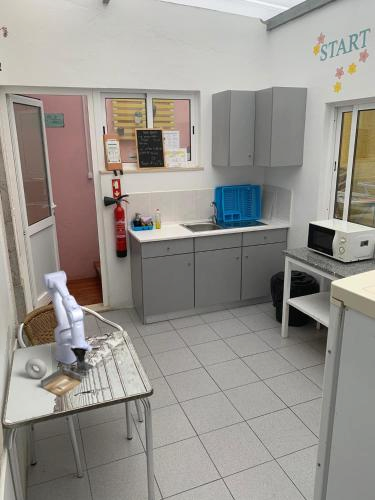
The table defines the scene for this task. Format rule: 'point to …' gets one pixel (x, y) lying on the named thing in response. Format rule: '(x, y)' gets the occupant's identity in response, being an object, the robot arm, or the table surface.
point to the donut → (32, 371)
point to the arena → (61, 381)
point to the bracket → (83, 364)
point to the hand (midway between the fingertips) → (80, 360)
